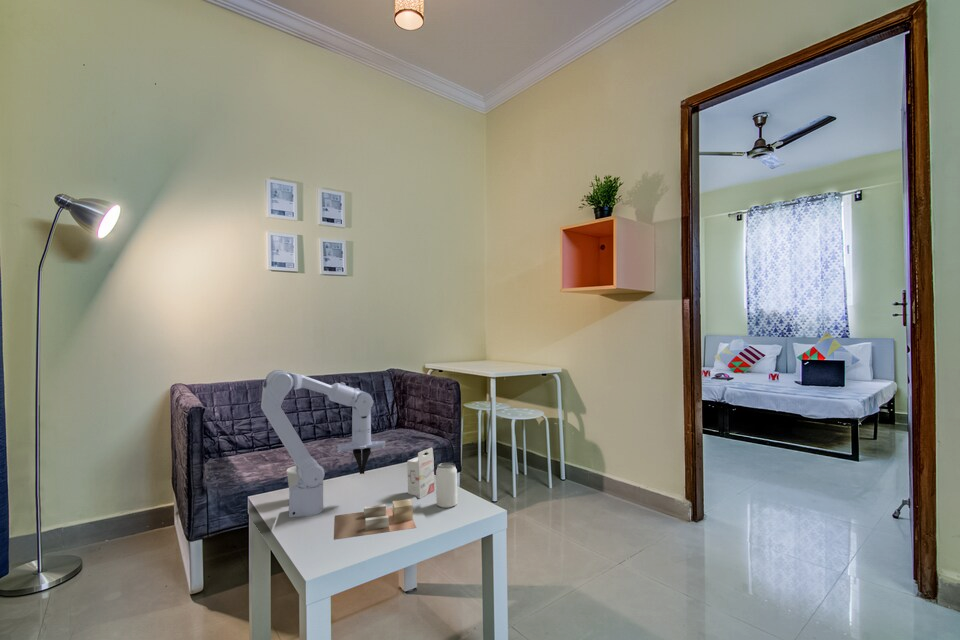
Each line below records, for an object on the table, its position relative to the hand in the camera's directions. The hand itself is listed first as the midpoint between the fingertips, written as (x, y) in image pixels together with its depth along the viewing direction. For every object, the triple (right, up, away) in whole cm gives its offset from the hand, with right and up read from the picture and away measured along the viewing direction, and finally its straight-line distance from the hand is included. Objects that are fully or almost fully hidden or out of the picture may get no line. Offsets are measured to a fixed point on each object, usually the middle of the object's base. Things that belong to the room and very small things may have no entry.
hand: (361, 472), depth 140 cm
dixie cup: (-21, -10, +4) cm, 24 cm away
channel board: (+8, -9, -17) cm, 20 cm away
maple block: (+15, -8, -14) cm, 22 cm away
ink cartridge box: (+18, -10, +7) cm, 21 cm away
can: (+27, -9, -3) cm, 29 cm away
